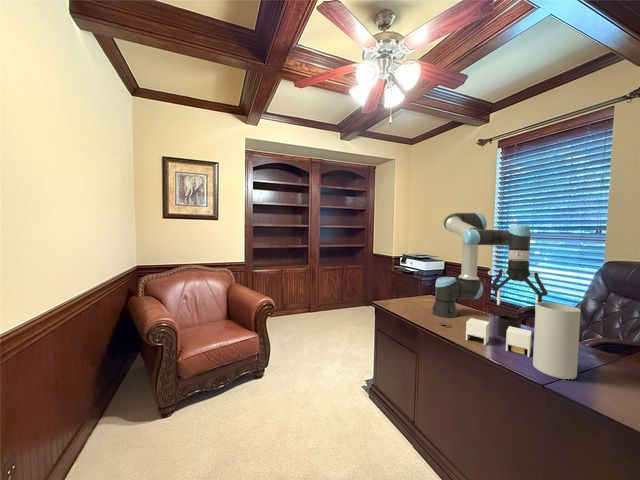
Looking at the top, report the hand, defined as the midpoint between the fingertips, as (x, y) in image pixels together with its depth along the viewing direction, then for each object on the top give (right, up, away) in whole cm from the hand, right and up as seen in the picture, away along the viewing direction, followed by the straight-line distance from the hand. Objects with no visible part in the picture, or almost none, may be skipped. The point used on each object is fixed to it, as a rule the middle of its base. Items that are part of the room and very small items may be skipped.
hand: (516, 307), depth 116 cm
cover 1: (-11, -19, +11) cm, 24 cm away
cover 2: (+1, -19, 0) cm, 19 cm away
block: (+1, -20, 0) cm, 20 cm away
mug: (+10, -19, +18) cm, 28 cm away
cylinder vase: (+2, -20, -17) cm, 26 cm away
